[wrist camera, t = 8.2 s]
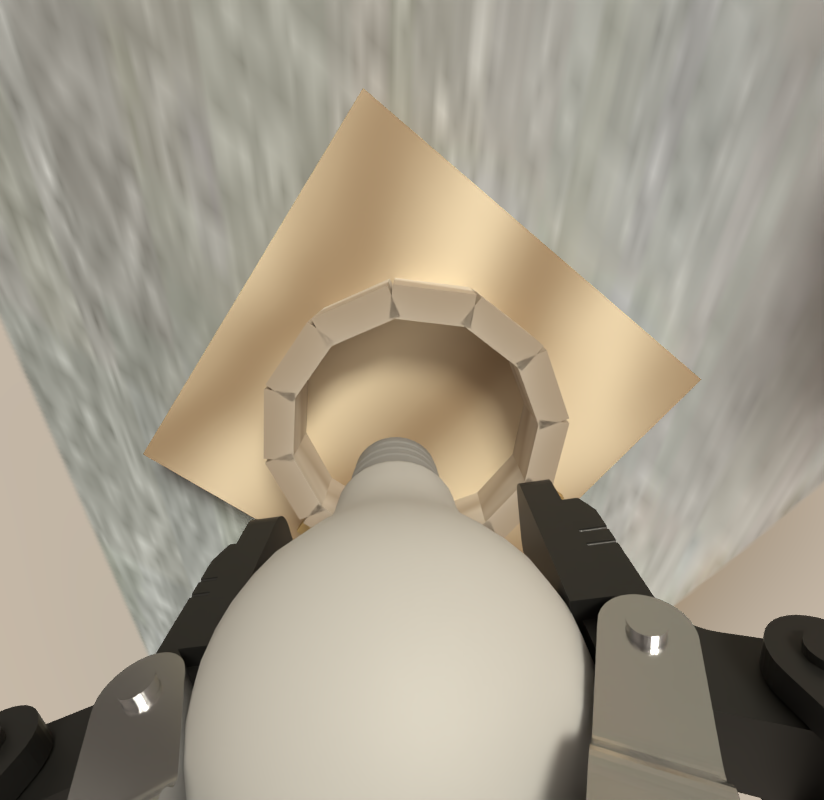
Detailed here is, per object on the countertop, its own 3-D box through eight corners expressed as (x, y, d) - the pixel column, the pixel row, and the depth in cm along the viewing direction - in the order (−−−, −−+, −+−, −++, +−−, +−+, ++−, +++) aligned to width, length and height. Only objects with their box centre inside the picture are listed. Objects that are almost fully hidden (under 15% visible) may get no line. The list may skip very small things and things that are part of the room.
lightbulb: (495, 526, 16) (697, 1104, 5) (321, 550, 16) (183, 1167, 5) (481, 357, 13) (779, 773, 3) (280, 386, 13) (-93, 890, 3)
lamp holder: (163, 437, 19) (110, 481, 15) (367, 102, 14) (355, 64, 11) (443, 602, 22) (449, 668, 19) (677, 367, 18) (738, 398, 14)
